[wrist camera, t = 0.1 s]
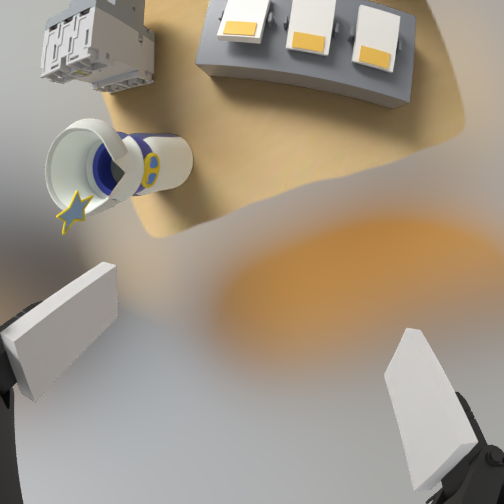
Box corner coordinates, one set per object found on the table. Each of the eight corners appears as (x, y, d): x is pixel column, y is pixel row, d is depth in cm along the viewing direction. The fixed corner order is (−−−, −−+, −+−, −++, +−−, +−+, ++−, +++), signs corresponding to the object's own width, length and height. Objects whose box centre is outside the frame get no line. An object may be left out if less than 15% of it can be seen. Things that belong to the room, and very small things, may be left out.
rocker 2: (294, -6, 23) (293, -9, 22) (335, 1, 23) (336, -2, 22) (286, 49, 27) (285, 47, 26) (327, 56, 27) (328, 55, 25)
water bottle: (201, 132, 37) (74, 114, 14) (190, 195, 40) (64, 255, 16) (146, 125, 38) (-1, 117, 14) (137, 185, 41) (-5, 229, 17)
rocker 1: (233, -3, 25) (231, -10, 24) (271, -1, 25) (270, -8, 24) (219, 40, 26) (216, 34, 25) (260, 43, 26) (259, 37, 25)
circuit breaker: (156, 1, 31) (104, -43, 17) (154, 82, 36) (90, 57, 22) (113, 14, 32) (55, -18, 18) (109, 93, 37) (39, 79, 23)
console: (225, 0, 31) (211, -27, 23) (401, 30, 29) (420, 8, 21) (209, 75, 35) (189, 59, 27) (393, 109, 33) (415, 100, 25)
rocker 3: (358, 7, 23) (360, 4, 22) (397, 18, 22) (400, 16, 21) (351, 61, 26) (353, 60, 25) (389, 72, 26) (393, 72, 25)
